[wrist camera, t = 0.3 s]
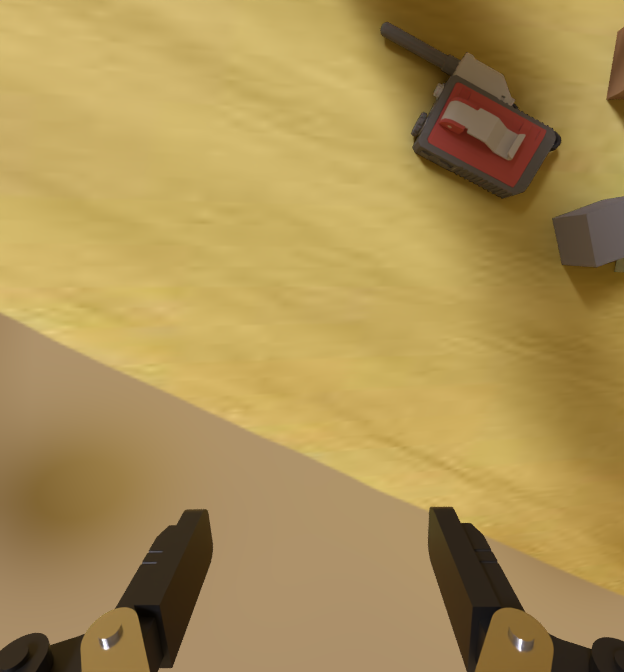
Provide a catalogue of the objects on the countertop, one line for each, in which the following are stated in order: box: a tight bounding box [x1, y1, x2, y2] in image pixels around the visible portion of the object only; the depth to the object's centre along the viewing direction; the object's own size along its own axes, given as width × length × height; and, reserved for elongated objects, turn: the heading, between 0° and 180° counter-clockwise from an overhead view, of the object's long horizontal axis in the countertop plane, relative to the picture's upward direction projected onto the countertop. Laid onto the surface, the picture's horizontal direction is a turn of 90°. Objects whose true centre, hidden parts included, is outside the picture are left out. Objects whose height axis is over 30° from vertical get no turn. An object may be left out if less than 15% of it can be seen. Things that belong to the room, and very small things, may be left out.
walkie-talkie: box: [380, 22, 561, 198], centre depth 33 cm, size 9×4×20 cm
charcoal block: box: [552, 196, 624, 267], centre depth 34 cm, size 5×5×5 cm
